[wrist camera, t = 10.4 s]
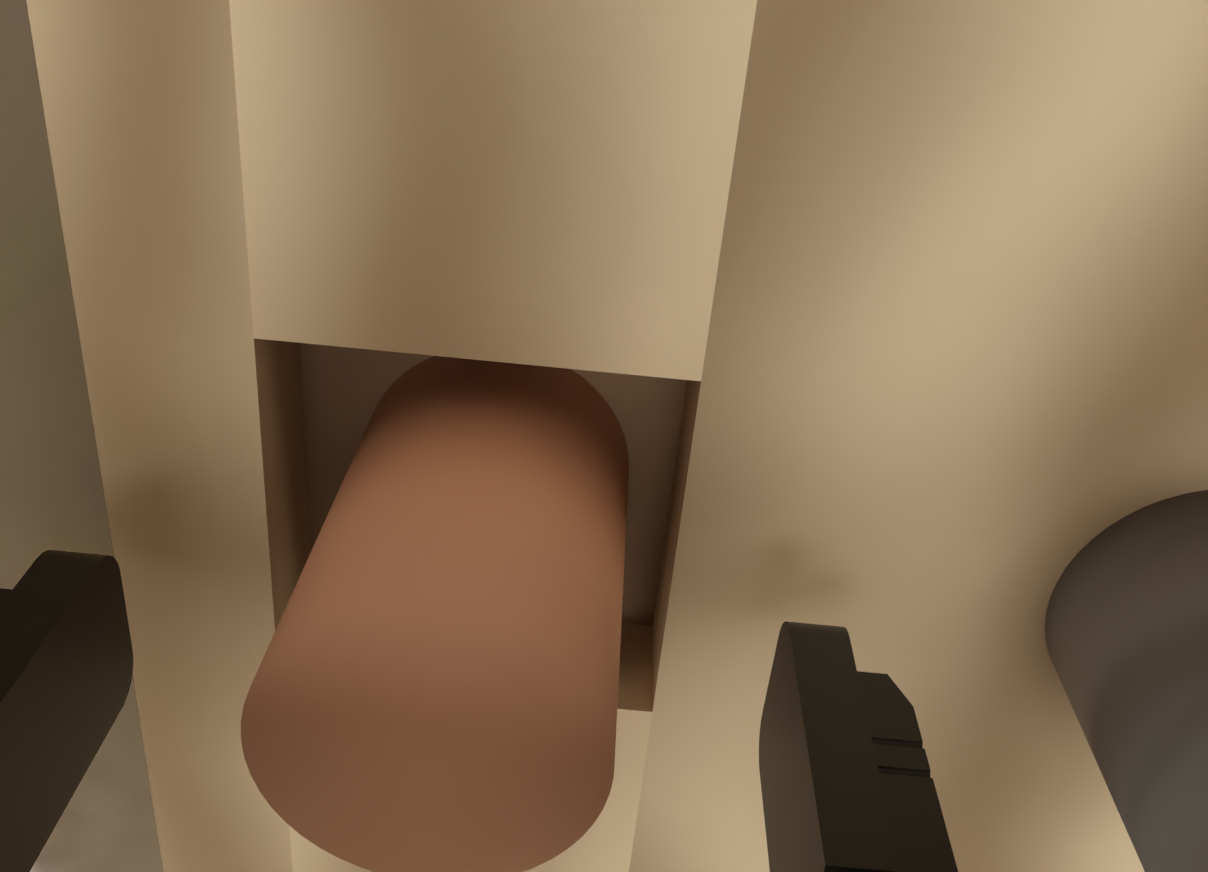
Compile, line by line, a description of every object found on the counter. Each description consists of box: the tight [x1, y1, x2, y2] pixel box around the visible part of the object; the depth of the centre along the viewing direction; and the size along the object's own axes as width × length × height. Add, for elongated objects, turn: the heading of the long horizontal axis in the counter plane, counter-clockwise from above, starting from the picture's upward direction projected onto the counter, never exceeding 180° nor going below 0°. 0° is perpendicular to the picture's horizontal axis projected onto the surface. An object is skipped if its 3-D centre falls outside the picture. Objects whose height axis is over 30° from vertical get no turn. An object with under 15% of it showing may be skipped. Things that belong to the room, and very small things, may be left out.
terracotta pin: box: [241, 356, 629, 872], centre depth 15 cm, size 4×4×6 cm
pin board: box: [26, 0, 1208, 872], centre depth 15 cm, size 20×16×7 cm
